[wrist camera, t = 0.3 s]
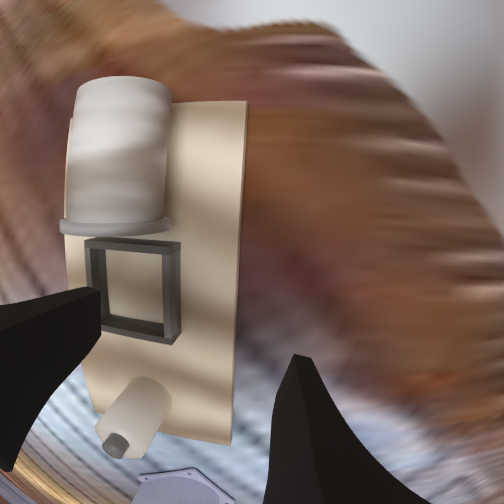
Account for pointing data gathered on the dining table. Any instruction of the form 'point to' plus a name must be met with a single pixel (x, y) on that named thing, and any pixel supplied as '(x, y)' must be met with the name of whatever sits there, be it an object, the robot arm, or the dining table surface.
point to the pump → (133, 418)
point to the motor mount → (158, 244)
